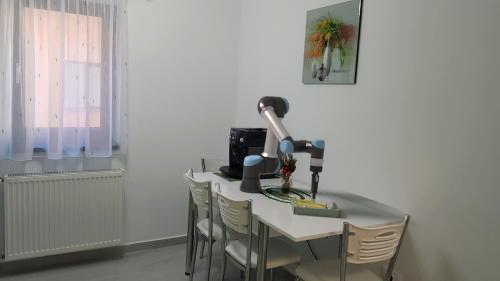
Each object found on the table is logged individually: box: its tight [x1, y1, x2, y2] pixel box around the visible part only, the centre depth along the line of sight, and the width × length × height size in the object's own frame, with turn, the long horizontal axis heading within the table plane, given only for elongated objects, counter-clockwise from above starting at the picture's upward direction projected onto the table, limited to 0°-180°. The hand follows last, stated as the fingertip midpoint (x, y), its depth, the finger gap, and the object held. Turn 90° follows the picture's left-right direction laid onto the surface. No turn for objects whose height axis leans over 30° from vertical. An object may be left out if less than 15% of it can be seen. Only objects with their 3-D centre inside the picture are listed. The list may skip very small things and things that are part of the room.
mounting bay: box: [290, 198, 342, 218], centre depth 215 cm, size 17×26×5 cm, turn 89°
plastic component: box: [293, 195, 328, 209], centre depth 218 cm, size 20×7×10 cm
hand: (312, 203), depth 225 cm, fingers closed
